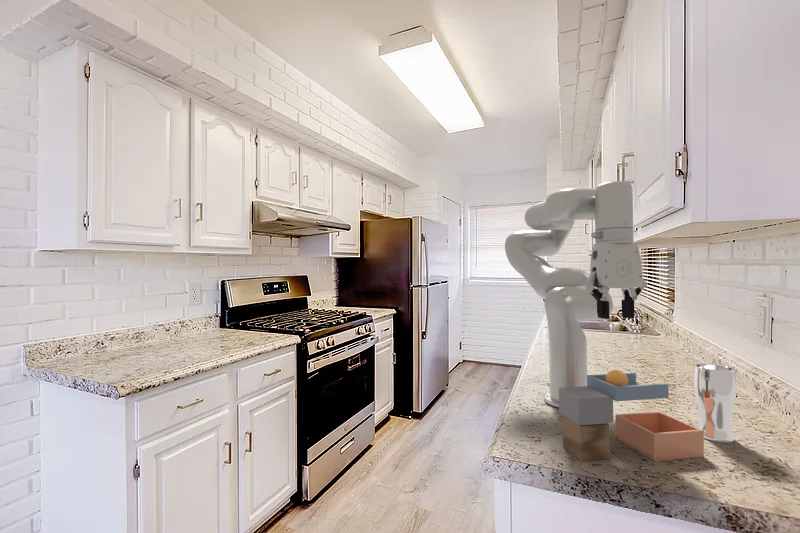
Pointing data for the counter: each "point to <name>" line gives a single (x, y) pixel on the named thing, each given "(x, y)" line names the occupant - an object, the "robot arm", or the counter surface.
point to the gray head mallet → (603, 398)
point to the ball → (617, 378)
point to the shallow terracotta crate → (659, 436)
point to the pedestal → (586, 440)
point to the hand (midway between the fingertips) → (615, 317)
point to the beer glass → (715, 400)
